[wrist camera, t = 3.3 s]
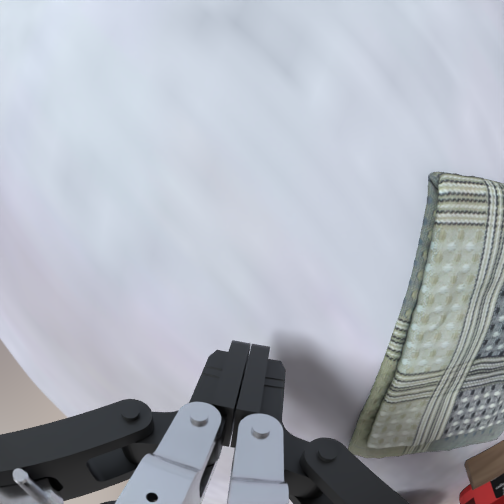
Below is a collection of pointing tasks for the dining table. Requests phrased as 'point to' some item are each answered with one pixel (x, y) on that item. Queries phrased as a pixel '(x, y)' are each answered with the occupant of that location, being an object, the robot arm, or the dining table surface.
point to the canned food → (484, 493)
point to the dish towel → (445, 331)
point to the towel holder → (486, 465)
